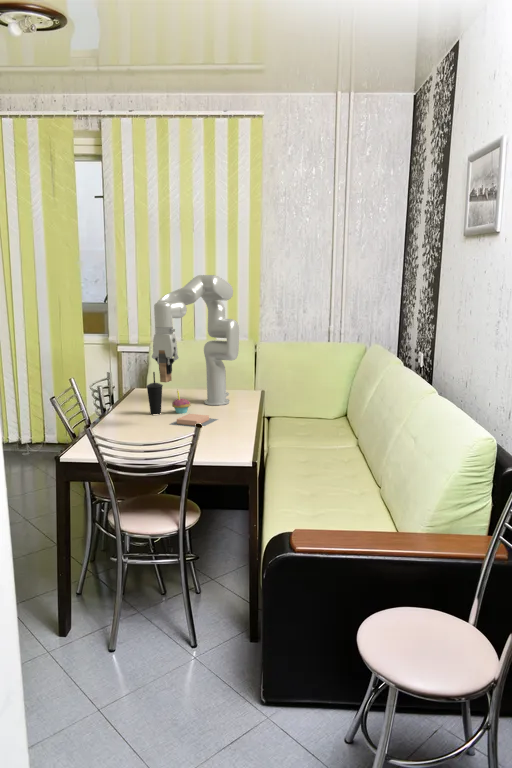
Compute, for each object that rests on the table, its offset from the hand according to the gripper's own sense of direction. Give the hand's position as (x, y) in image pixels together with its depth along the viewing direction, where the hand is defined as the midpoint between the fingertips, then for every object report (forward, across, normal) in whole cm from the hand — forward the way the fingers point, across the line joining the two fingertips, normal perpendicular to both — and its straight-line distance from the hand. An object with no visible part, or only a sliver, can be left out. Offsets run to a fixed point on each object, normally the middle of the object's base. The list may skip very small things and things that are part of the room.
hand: (165, 372), depth 270 cm
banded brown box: (+4, 0, 0) cm, 4 cm away
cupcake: (+23, +4, -18) cm, 29 cm away
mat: (+22, -11, -4) cm, 25 cm away
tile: (+21, -11, -9) cm, 25 cm away
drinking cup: (+23, +15, -13) cm, 30 cm away
